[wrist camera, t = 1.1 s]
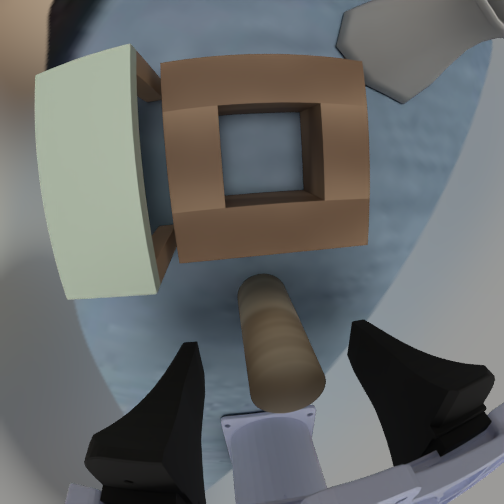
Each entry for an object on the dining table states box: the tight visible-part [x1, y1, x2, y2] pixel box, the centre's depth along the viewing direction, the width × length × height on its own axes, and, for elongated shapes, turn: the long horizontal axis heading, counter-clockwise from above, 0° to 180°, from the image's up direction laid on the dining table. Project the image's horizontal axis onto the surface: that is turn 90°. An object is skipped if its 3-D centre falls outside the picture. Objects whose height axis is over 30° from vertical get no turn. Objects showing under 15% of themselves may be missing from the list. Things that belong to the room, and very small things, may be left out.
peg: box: [238, 274, 326, 413], centre depth 14 cm, size 3×3×8 cm
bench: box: [35, 44, 177, 299], centre depth 12 cm, size 9×4×6 cm, turn 4°
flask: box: [336, 0, 504, 104], centre depth 9 cm, size 7×7×10 cm
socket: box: [160, 54, 370, 263], centre depth 13 cm, size 9×9×4 cm
